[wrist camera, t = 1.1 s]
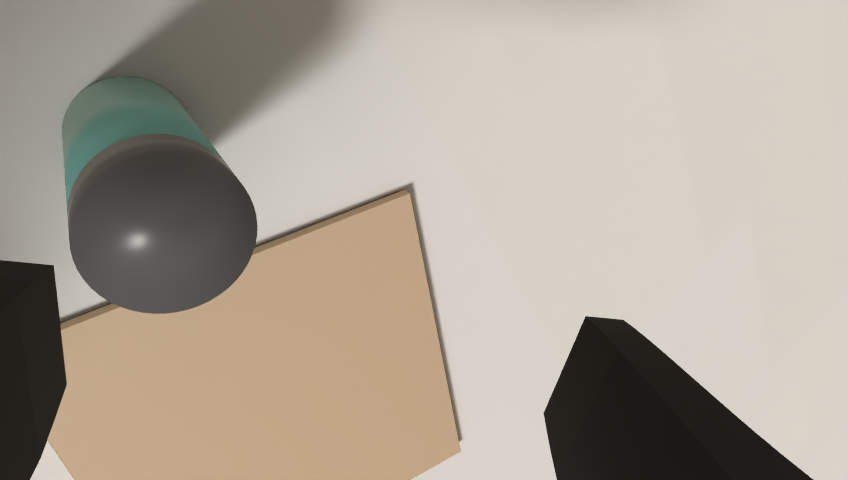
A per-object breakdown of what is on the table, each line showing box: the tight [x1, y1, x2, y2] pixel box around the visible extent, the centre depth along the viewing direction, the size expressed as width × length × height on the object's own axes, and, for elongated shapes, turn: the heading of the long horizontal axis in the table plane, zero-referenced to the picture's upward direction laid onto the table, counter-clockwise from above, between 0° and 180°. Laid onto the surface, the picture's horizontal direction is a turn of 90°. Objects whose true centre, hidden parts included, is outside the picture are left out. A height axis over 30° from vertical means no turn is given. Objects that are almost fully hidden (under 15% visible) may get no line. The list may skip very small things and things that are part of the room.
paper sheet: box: [47, 189, 461, 480], centre depth 23 cm, size 13×13×1 cm
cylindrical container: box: [62, 76, 257, 314], centre depth 14 cm, size 3×3×7 cm
